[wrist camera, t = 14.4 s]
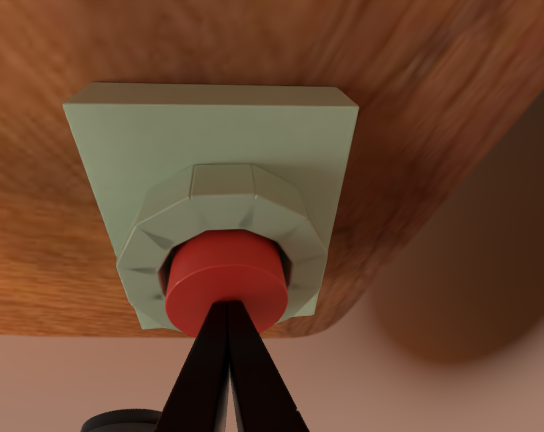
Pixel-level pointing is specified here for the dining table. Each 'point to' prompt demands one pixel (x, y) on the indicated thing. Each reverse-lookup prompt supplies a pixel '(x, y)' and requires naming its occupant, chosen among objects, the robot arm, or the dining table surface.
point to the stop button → (226, 278)
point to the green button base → (213, 175)
